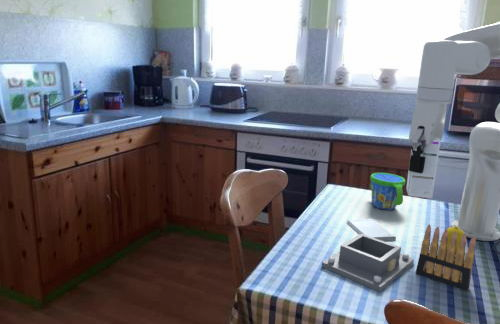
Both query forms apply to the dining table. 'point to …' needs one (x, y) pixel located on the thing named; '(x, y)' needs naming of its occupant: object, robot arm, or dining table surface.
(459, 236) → the lemon
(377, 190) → the snack cup
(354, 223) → the hard drive
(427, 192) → the syrup box
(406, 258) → the frame
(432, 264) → the ammunition clip
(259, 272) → the dining table surface
